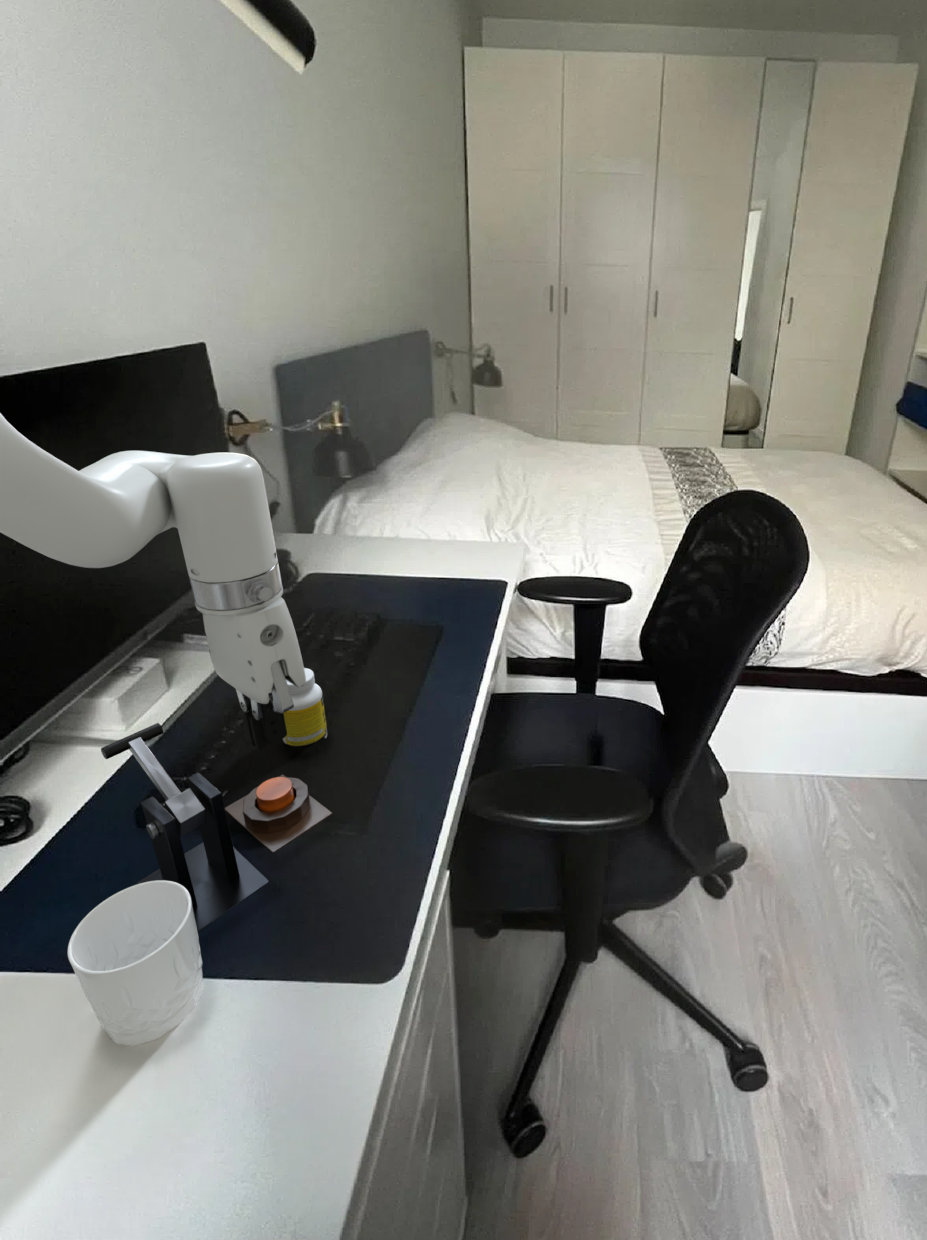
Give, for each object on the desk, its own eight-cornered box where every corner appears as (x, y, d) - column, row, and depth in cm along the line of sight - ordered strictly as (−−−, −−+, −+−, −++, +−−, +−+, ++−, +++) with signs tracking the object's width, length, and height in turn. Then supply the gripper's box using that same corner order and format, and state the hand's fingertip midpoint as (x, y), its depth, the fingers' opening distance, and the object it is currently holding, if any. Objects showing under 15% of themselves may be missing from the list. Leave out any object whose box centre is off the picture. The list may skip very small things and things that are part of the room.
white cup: (81, 1024, 52) (47, 937, 48) (181, 947, 58) (158, 864, 55) (131, 1085, 48) (99, 995, 45) (233, 995, 55) (212, 910, 51)
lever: (101, 757, 63) (99, 742, 61) (158, 731, 67) (157, 716, 65) (164, 847, 58) (163, 833, 57) (220, 814, 62) (221, 800, 61)
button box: (225, 816, 73) (220, 795, 72) (284, 782, 78) (280, 762, 77) (274, 861, 67) (270, 839, 66) (334, 821, 73) (331, 800, 72)
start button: (251, 802, 71) (249, 790, 71) (282, 784, 74) (280, 772, 73) (269, 818, 69) (267, 805, 69) (300, 798, 72) (298, 786, 71)
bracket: (137, 892, 63) (108, 797, 59) (220, 840, 70) (200, 752, 65) (186, 951, 58) (158, 852, 54) (271, 890, 64) (253, 796, 60)
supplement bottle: (335, 740, 85) (327, 676, 82) (294, 759, 82) (283, 694, 78) (316, 721, 89) (307, 660, 85) (276, 739, 85) (265, 675, 81)
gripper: (319, 592, 61) (342, 750, 68) (236, 553, 69) (265, 698, 76) (239, 622, 55) (274, 792, 62) (159, 576, 63) (198, 731, 70)
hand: (269, 740), depth 69 cm, fingers closed
